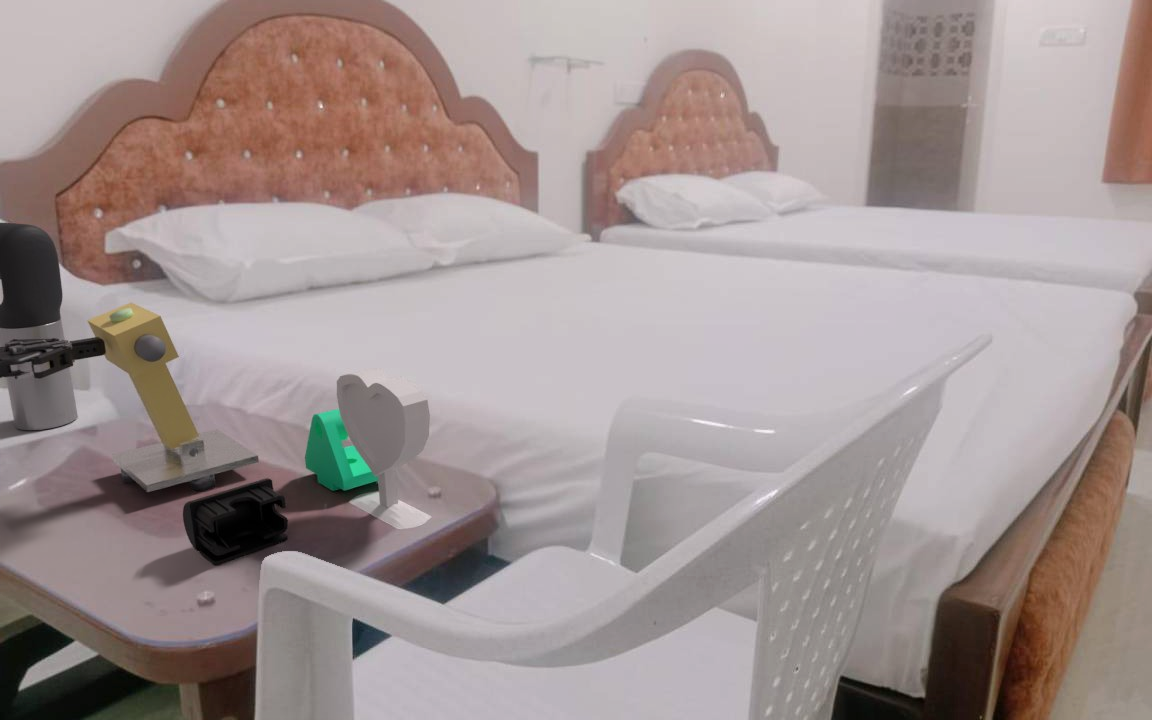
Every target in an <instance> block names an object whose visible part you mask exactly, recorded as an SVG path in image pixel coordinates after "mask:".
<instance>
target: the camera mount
mask: <svg viewBox="0 0 1152 720" xmlns="http://www.w3.org/2000/svg"><path fill="white" fill-rule="evenodd" d="M348 438H349V436H348V434H347V432H346V429H345V426H344V424H343V421H342V418H341V416H340V411H339V408H336V409H333V410H328V411H324V412H320V413H316V414H314V415H313V416H312V418H311V422H310V428H309V434H308V438H307V439H308V440H307V443H306V444H307V445H306V450H305V455H304V463H305V469H307V470H309V471H310V472H312V473H314V474H315V475H316V477H317V482H318V484H320V485H323V486H324V487H325V488H327V489H329V490H330V491H337V490H342V491H344V492H345V491H348V490H351V489H354V488H357V487H361V486H364V485H368V484H371V483H374V482H378V476H376V477H375V476H374V474H373V473H372V471H371V470H370V468H369V467H368V465H367V464H366V463H365V461H364V460H363V458H362V457H361V456H360V454H359V453H358V452H357V450H356V448H355V446H354V445H348V446H344V445H343V443H342V442H343V441H346V440H348Z"/></svg>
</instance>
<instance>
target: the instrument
mask: <svg viewBox="0 0 1152 720" xmlns="http://www.w3.org/2000/svg"><path fill="white" fill-rule="evenodd" d="M86 321H87V323H88V326H89V327H90V329H91V332H92V333H93V335H94V337H99V338H101V339H103V340H104V343H105V349H106V353H105V354H104V355H103V356H104V357H105V359H106V360H107V361H109V362H110V363H111V364H113V366H116V367H117V368H119V369H120V370H123V371H124V372H125V373H126V374H128V376H129V377H130V380H131V382H132V384H133V385H134V388H135V390H136V392H137V394H138V397H139V399H140V400H141V402H142V405H143V406H144V409H145V411H146V412H147V415H148V417H149V419H150V421H151V423H152V425H153V427H154V429H155V431H156V434H157V436H158V437H159V439H160V441H161V442H160V443H163V444H165V445H166V446H167V447H169V448H170V449H171V450H173V449H175V448H177V447H178V446H179V443H182V442H186V441H190V440H192V439H194V438H196V437H198V436H199V435H198V434H199V433H198V430H197V428H196V426H195V424H194V421H193V420H192V418H191V415H190V413H189V411H188V408H187V406H186V404H185V402H184V400H183V398H182V396H181V394H180V392H179V390H178V387H177V385H176V383H175V381H174V379H173V376H172V375H171V372H170V370H169V368H168V366H167V363H169V362H171V361H173V360H176V359H177V358H179V357H180V356H179V354H178V350H176V347H175V346H174V345H175V344H174V343H173V340H172V338H171V336H170V334H169V332H168V330H167V328H166V325H165V323H164V321H163V319H162V317H161V315H159V314H157V313H155V312H152V311H150V310H149V309H146V308H144V307H141V306H139V305H137V304H136V303H133V302H129V303H126V304H124V305H121V306H119V307H117V308H114V309H112V310H109V311H106V312H104V313H101V314H100V315H97V316H95V317H92V318H90V319H87V320H86Z"/></svg>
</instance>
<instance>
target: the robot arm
mask: <svg viewBox="0 0 1152 720" xmlns="http://www.w3.org/2000/svg"><path fill="white" fill-rule="evenodd" d="M58 256H59V255H58V252H57V247H56V245H55V243H54V240H53V239H52V238H51V236H50V235H49V233H47V232H46V231H45V230H44V229H42V228H41V227H38V226H36V225H33V224H27V223H16V222H15V223H14V222H0V280H1V287H2V297H3V298H2V301H1V303H0V379H2V378H5V380H6V385H7V386H6V387H7V391H8V395H9V396H8V397H9V400H10V401H9V402H10V406H11V412H12V416H13V422H14V427H15V428H16V429H17V430H23V431H40V430H41V431H42V430H47V429H53V428H57V427H61V426H65V425H67V424H69V423H72V422H74V421H76V420H77V419H78V417H79V415H78V409H77V402H76V399H75V398H76V397H75V391H74V384H73V381H72V380H73V379H72V373H71V367H73V366H74V363H75V362H76V361H77V360H78V361H79V360H84V359H89V358H95V357H100V356H105V355H104V354H105V353H106V349H105V343H104V340H103V339H101V338H99V337H95V336H94V337H90V338H84V339H83V338H81V339H76V340H70V341H69V340H67V339H65V334H64V328H63V322H62V316H61V306H62V304H63V287H62V286H63V285H62V278H61V276H62V275H61V270H60V263H59V262H60V261H59V257H58Z"/></svg>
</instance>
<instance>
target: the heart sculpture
mask: <svg viewBox="0 0 1152 720" xmlns="http://www.w3.org/2000/svg"><path fill="white" fill-rule="evenodd" d="M336 400H337V403H338V409H339V411H340V416H341V418H342V421H343V424H344V426H345V429H346V432H347V434H348V438H349V440H350V441H351V443H352V446H355V448H356V450H357V452H358V453H359V454H360V456H361V457H362V458H363V460H364V461H365V463H366V464H367V465H368V467H369V468H370V470H371V471H372V473H373V474H374V476H375V477H376V476H378V481H377V482H378V483H377V484H378V490H376V491H371V492H364V493H360V494H358V495H357V496H355V497H353V498H352V499H351V500H349V501H348V503H349V504H351V505H353V506H355V507H356V508H358V509H360V510H362V511H363V512H365V513H367V514H369V515H371V516H373V517H375V518H377V519H379V520H380V521H382V522H384V523H386V524H388V525H390V526H391V527H394V528H396V529H397V530H407V529H412V528H417V527H421V526H422V525H424V524H425V523H427V522H428V521H429V520H430V519H431V518H432V517H433V516H431V515H430V514H428V513H426V512H423V511H422V510H419V509H418V508H417V507H414V506H412V505H410V504H407V503H406V502H404V501H402V500H400V499H399V498H398V497H399V496H398V482H397V470H399V469H400V468H401V467H403V466H404V465H406V464H408V463H410V462H411V461H413V460H415V459H416V458H417V457H418V456H419V455H420V454H421V453H422V452H423V451H424V450H425V449H424V448H425V446H426V444H427V441H428V439H429V435H430V424H431V423H430V422H431V421H430V419H431V414H430V408H429V402H428V399H427V396H426V395H425V393H424V392H423V391H422V389H420V388H419V387H418V386H417V385H416V384H415V383H414V382H412V381H411V380H409V379H408V378H406V377H402V376H398V377H394V378H390V376H389V375H387V373H386V372H385V371H384V370H382V369H381V368H368V369H363V370H358V371H356V372H350V373H347V374H343V375H340V376H339V378H338V379H337V380H336Z"/></svg>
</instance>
